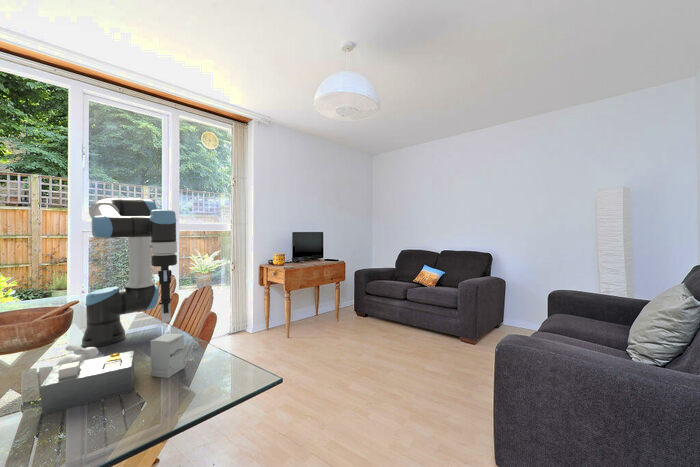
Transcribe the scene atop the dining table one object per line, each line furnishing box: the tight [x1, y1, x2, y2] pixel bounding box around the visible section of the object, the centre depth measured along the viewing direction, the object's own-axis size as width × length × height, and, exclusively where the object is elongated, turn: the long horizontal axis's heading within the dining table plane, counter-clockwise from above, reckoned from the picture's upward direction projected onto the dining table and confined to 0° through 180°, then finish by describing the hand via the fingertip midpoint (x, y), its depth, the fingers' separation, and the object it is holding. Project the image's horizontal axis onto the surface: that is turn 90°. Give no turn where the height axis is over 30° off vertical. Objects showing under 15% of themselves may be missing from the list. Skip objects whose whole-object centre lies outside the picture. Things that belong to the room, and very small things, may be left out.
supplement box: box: [150, 332, 185, 379], centre depth 104 cm, size 7×7×13 cm
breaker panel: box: [40, 350, 135, 416], centre depth 92 cm, size 14×20×9 cm
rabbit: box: [55, 344, 99, 366], centre depth 100 cm, size 12×9×12 cm
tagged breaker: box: [104, 361, 121, 369], centre depth 93 cm, size 4×4×5 cm
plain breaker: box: [58, 361, 80, 379], centre depth 88 cm, size 4×4×5 cm
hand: (166, 320), depth 104 cm, fingers open, 2 cm apart
